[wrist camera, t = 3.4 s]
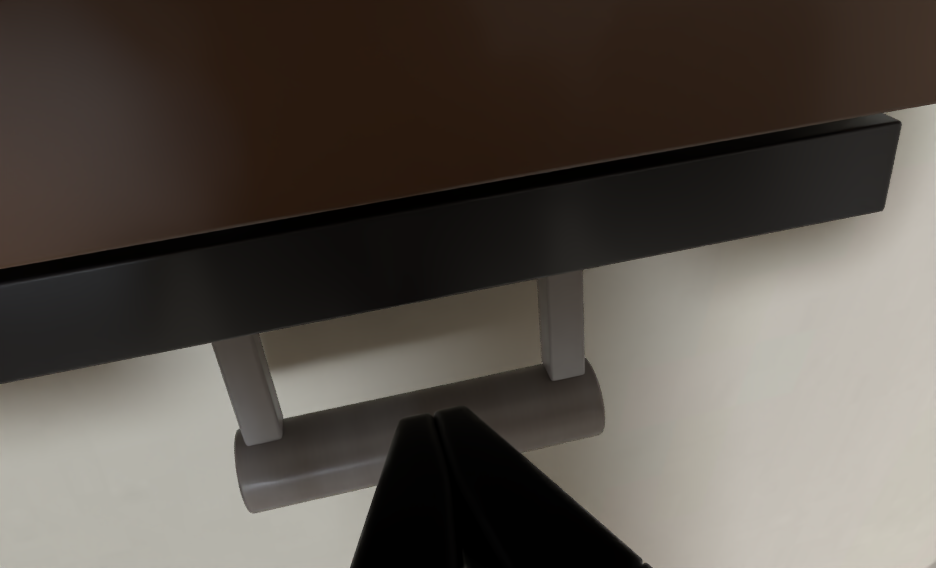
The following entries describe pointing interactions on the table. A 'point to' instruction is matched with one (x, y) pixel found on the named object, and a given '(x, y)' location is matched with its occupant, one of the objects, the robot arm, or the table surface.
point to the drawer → (427, 287)
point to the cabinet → (398, 99)
